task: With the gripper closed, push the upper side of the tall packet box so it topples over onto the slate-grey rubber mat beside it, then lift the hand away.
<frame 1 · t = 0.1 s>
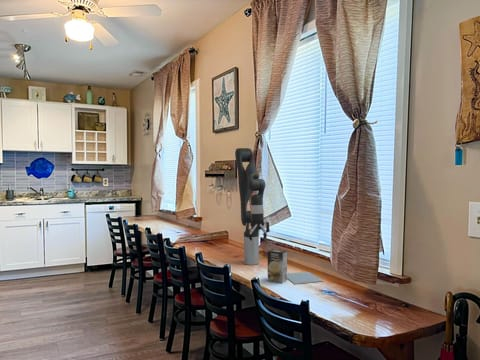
hand: (257, 239, 216), 17 cm above the bar counter, tool pointing down, fingers open, 8 cm apart
mat: (301, 278, 197), on the bar counter
coffee box: (277, 280, 193), on the bar counter
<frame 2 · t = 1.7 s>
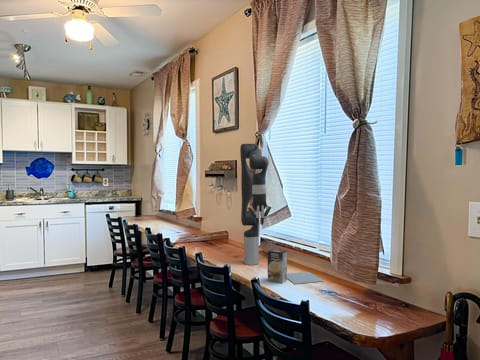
hand: (259, 224, 198), 29 cm above the bar counter, tool pointing down, fingers closed
nothing on the bar counter moved.
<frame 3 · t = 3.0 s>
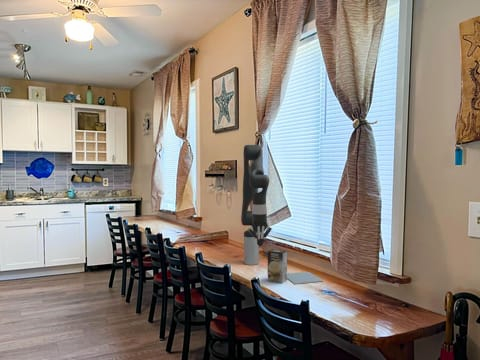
hand: (260, 245, 190), 19 cm above the bar counter, tool pointing down, fingers closed
nothing on the bar counter moved.
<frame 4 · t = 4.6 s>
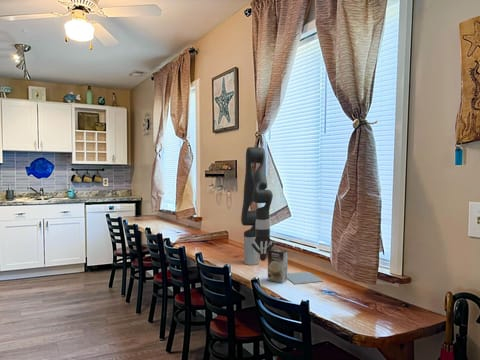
hand: (262, 260, 191), 11 cm above the bar counter, tool pointing down, fingers closed
coffee box: (277, 280, 193), on the bar counter, touching hand
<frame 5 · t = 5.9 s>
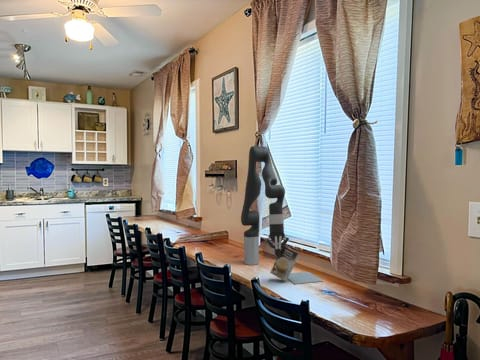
hand: (277, 256, 190), 14 cm above the bar counter, tool pointing down, fingers closed
coffee box: (278, 276, 193), point 2 cm above the bar counter, touching hand
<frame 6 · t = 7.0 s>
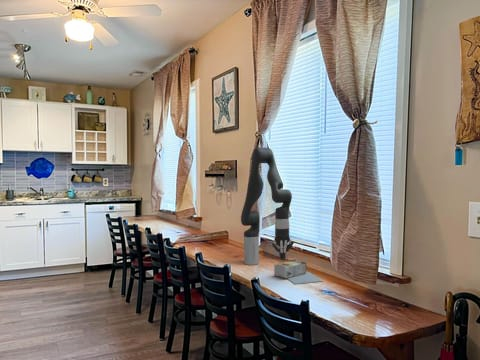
hand: (282, 259, 194), 11 cm above the bar counter, tool pointing down, fingers closed
coffee box: (279, 271, 197), point 4 cm above the bar counter, touching mat
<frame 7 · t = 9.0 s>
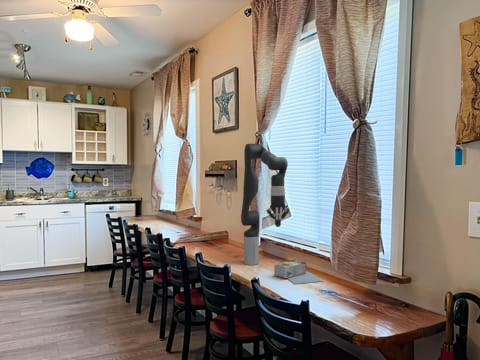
hand: (277, 226, 195), 28 cm above the bar counter, tool pointing down, fingers closed
nothing on the bar counter moved.
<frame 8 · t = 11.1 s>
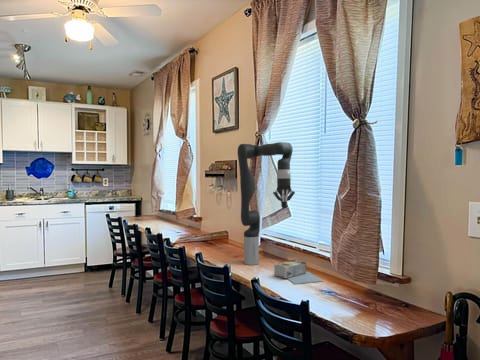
hand: (284, 208, 206), 37 cm above the bar counter, tool pointing down, fingers closed
nothing on the bar counter moved.
at the end: coffee box tilted 90°; coffee box inside the target area (7.8 cm from its centre), point 3.6 cm above the bar counter; the gripper is holding nothing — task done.
